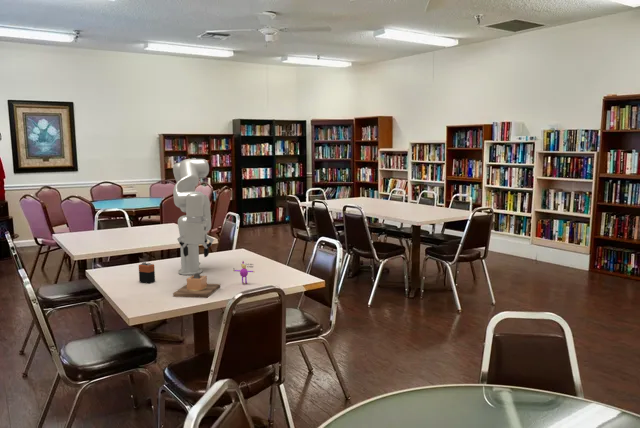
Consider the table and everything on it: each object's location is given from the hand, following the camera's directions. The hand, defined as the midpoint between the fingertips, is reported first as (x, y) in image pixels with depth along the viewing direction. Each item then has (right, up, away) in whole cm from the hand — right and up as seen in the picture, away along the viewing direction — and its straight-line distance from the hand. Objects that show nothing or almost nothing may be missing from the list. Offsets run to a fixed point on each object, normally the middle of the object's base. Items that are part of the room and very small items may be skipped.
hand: (196, 256), depth 233 cm
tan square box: (0, -15, +2) cm, 15 cm away
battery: (-30, -15, +20) cm, 39 cm away
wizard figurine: (+20, -15, +15) cm, 30 cm away
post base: (0, -17, +2) cm, 17 cm away
